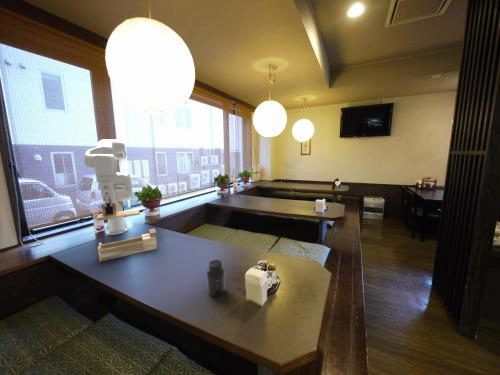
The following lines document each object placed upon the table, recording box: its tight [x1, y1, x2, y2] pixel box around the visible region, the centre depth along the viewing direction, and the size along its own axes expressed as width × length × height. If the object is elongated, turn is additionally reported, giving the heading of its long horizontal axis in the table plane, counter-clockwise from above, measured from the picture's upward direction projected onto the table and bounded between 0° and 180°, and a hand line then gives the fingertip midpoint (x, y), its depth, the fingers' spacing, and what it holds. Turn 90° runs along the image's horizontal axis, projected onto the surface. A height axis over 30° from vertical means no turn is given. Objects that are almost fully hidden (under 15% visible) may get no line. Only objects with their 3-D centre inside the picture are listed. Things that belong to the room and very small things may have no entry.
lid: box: [96, 202, 140, 222], centre depth 109 cm, size 9×19×7 cm, turn 122°
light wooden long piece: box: [97, 233, 158, 263], centre depth 114 cm, size 9×27×7 cm, turn 122°
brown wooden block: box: [148, 228, 157, 237], centre depth 120 cm, size 7×3×2 cm, turn 32°
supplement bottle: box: [206, 259, 226, 297], centre depth 79 cm, size 7×7×12 cm
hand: (109, 212), depth 108 cm, fingers closed on lid, 3 cm apart
